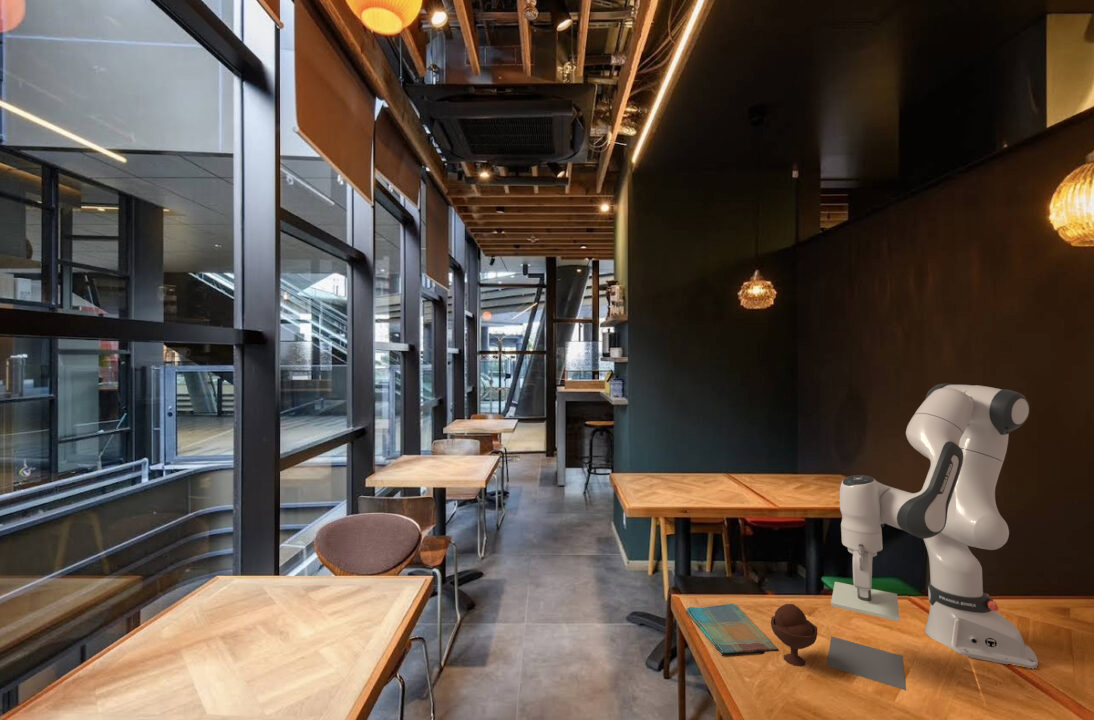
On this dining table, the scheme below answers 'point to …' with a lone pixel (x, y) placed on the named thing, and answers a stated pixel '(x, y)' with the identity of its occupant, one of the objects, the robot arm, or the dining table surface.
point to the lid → (866, 601)
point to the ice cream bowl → (793, 631)
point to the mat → (867, 662)
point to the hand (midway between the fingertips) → (864, 592)
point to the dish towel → (730, 630)
